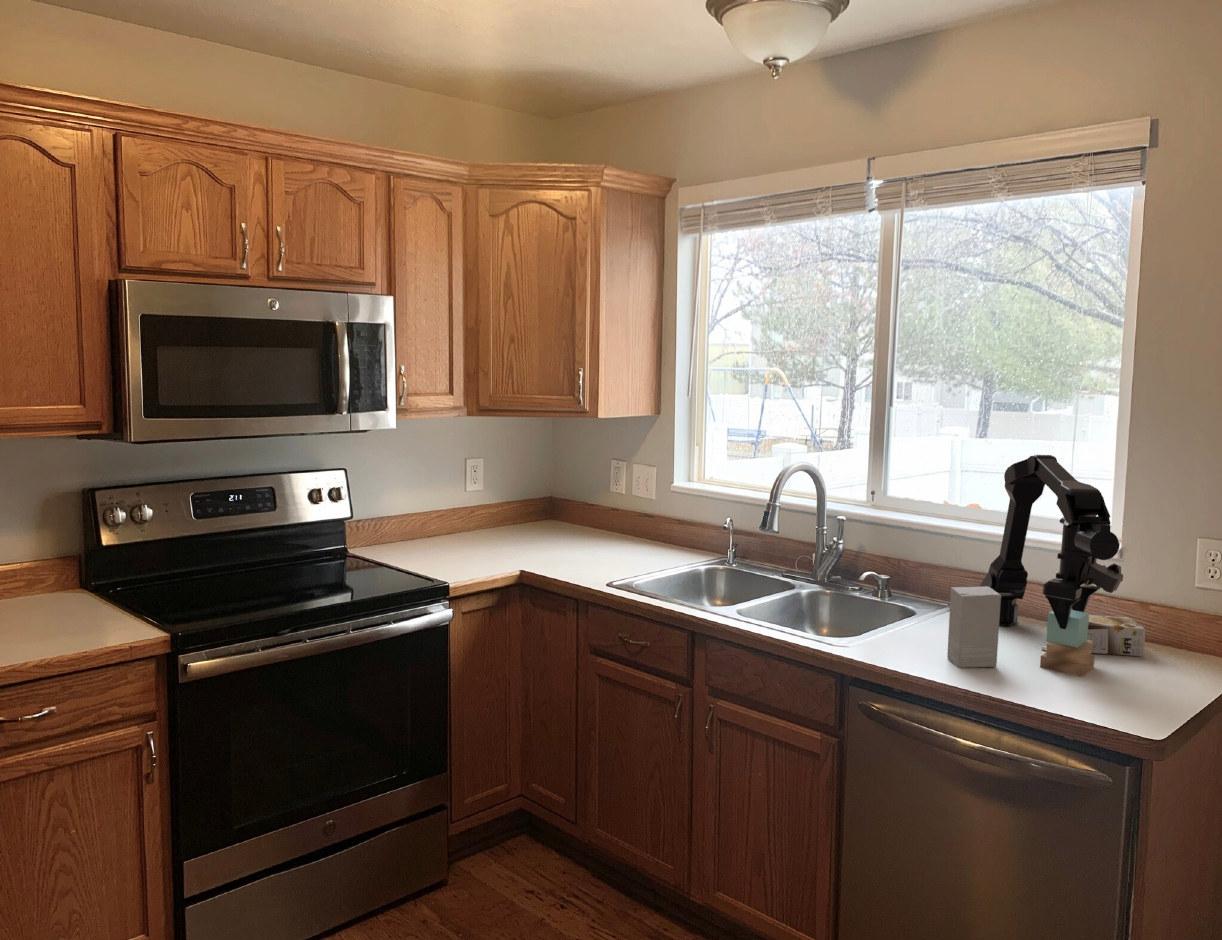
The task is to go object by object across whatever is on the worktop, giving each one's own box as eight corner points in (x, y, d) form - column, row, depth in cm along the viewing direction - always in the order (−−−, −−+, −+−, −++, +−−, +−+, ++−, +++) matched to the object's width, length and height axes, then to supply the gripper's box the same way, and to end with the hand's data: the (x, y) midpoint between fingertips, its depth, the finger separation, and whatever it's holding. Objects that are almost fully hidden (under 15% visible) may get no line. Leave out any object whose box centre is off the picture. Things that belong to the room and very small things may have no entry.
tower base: (1039, 669, 194) (1040, 655, 193) (1052, 661, 200) (1053, 647, 199) (1081, 679, 188) (1082, 665, 188) (1093, 670, 194) (1094, 656, 194)
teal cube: (1046, 641, 193) (1048, 612, 193) (1056, 635, 198) (1058, 607, 197) (1077, 647, 189) (1079, 618, 189) (1086, 641, 194) (1089, 613, 193)
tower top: (1045, 658, 192) (1047, 644, 191) (1048, 648, 199) (1050, 634, 198) (1089, 665, 188) (1091, 650, 188) (1091, 654, 195) (1092, 640, 195)
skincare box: (983, 658, 199) (989, 585, 197) (998, 669, 192) (1004, 593, 190) (944, 658, 198) (949, 584, 196) (957, 669, 191) (962, 593, 189)
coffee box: (1146, 628, 201) (1067, 623, 203) (1143, 657, 202) (1065, 652, 204) (1128, 616, 210) (1053, 612, 212) (1126, 644, 211) (1051, 640, 213)
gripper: (1106, 562, 178) (1099, 642, 180) (1134, 549, 192) (1127, 623, 194) (1044, 553, 186) (1038, 630, 188) (1075, 541, 199) (1069, 612, 201)
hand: (1070, 624), depth 192 cm, fingers open, 9 cm apart
